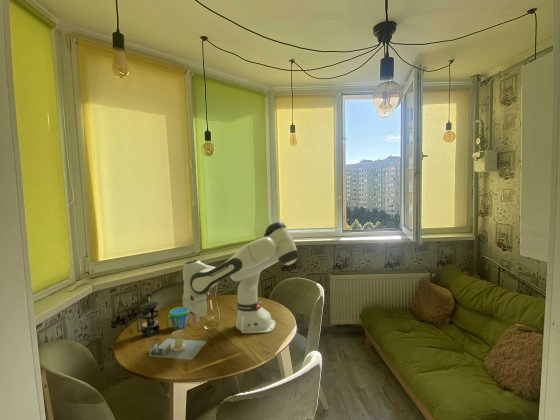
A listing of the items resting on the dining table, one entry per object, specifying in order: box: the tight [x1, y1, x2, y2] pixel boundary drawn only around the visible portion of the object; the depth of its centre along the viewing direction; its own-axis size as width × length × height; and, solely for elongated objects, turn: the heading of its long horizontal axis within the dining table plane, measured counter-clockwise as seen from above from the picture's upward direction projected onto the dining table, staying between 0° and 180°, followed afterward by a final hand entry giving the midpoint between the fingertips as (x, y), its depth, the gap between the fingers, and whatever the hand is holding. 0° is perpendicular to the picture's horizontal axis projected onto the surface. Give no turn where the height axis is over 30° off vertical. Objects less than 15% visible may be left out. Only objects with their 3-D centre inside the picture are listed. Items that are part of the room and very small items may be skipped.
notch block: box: [148, 342, 171, 356], centre depth 134 cm, size 8×5×3 cm, turn 80°
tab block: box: [188, 311, 201, 327], centre depth 141 cm, size 4×4×7 cm
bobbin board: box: [147, 329, 208, 361], centre depth 137 cm, size 22×16×9 cm
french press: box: [136, 292, 161, 338], centre depth 153 cm, size 12×9×23 cm
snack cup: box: [165, 306, 189, 331], centre depth 161 cm, size 16×10×10 cm
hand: (194, 319), depth 141 cm, fingers closed on tab block, 4 cm apart
